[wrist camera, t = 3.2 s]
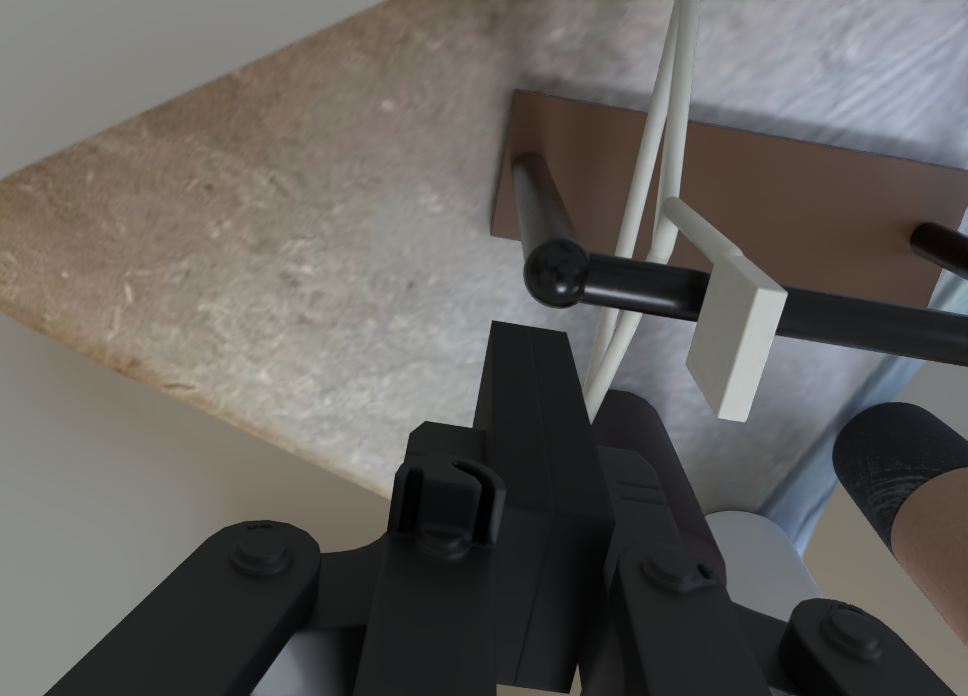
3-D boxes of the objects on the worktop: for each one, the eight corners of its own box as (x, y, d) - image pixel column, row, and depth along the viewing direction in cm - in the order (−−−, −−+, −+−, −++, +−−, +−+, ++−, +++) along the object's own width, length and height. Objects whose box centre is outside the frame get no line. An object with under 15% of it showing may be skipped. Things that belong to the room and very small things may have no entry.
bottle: (544, 465, 51) (574, 706, 33) (578, 375, 49) (631, 580, 30) (640, 491, 52) (723, 741, 33) (678, 403, 50) (790, 620, 31)
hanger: (687, -63, 32) (901, -176, 15) (706, -59, 32) (940, -169, 15) (572, 427, 40) (629, 699, 24) (587, 429, 40) (654, 703, 24)
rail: (514, 88, 43) (538, 136, 21) (965, 169, 44) (1414, 290, 23) (490, 230, 46) (488, 397, 24) (913, 301, 47) (1268, 519, 26)
